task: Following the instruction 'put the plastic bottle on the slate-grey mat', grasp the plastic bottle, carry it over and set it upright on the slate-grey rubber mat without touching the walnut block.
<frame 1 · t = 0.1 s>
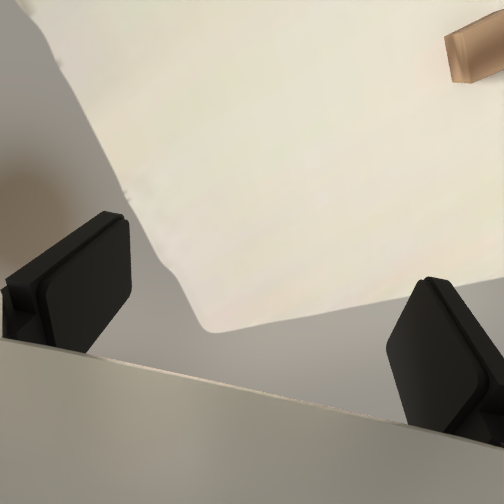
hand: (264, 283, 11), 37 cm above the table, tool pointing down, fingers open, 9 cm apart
walnut block: (472, 48, 37), on the table
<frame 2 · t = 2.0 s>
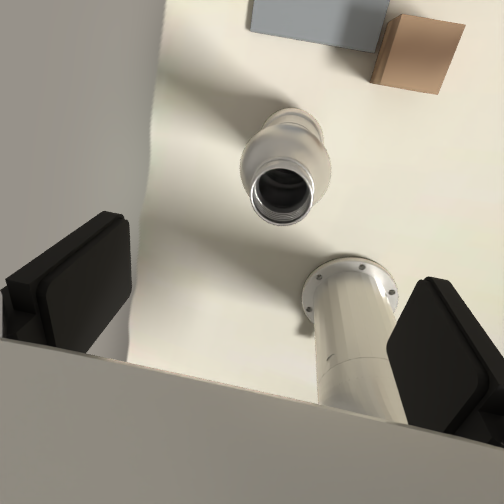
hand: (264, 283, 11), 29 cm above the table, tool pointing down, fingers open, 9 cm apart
walnut block: (404, 58, 31), on the table
plastic bottle: (291, 137, 36), on the table
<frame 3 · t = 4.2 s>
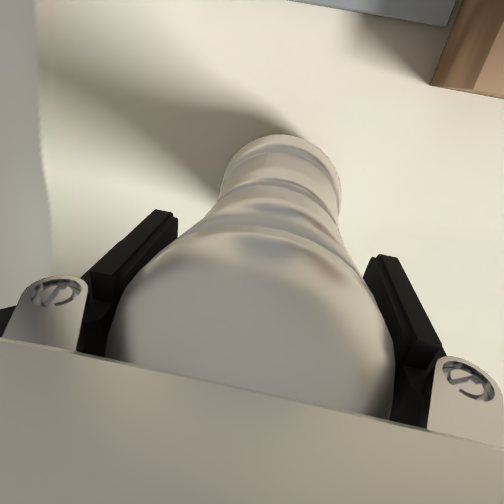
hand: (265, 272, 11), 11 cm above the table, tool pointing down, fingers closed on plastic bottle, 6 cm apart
walnut block: (503, 37, 16), on the table
plastic bottle: (282, 180, 21), on the table, touching gripper
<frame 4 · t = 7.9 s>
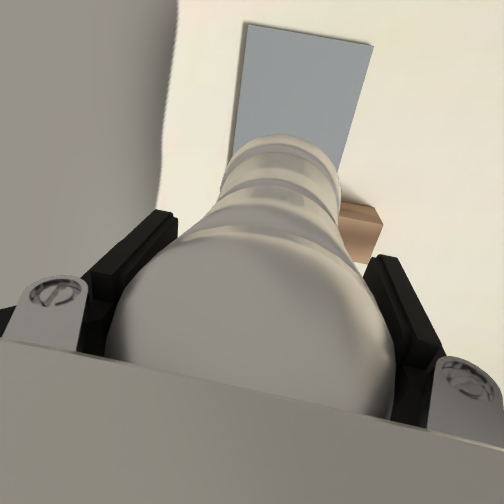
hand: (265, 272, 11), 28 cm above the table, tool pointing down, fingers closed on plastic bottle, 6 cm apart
slate mat: (290, 133, 35), on the table
walnut block: (347, 222, 40), on the table
plastic bottle: (282, 180, 20), point 17 cm above the table, touching gripper
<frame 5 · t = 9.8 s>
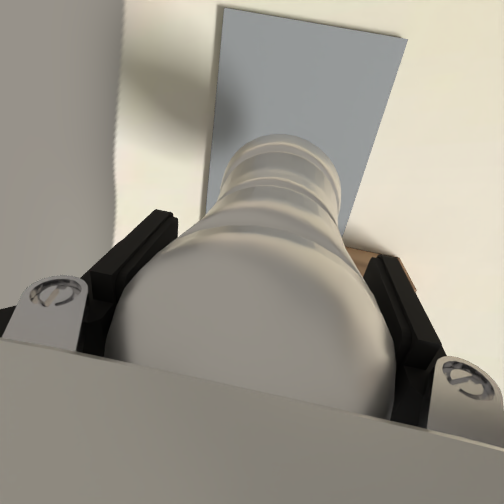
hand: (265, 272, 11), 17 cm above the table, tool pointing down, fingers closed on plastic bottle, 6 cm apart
slate mat: (286, 160, 26), on the table
walnut block: (362, 274, 30), on the table
plastic bottle: (282, 180, 20), point 6 cm above the table, touching gripper
when the fingers open (12 cm above the table, at t = 11.7 s): plastic bottle drops 1 cm, resting on slate mat.
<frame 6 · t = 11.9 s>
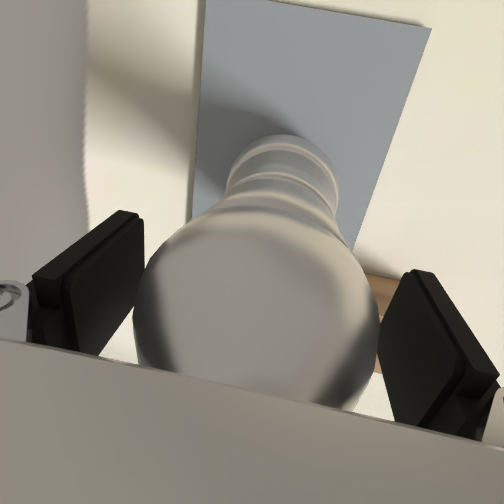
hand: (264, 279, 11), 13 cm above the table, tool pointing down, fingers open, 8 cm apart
slate mat: (283, 172, 22), on the table
walnut block: (370, 301, 26), on the table
plastic bottle: (284, 178, 22), resting on slate mat
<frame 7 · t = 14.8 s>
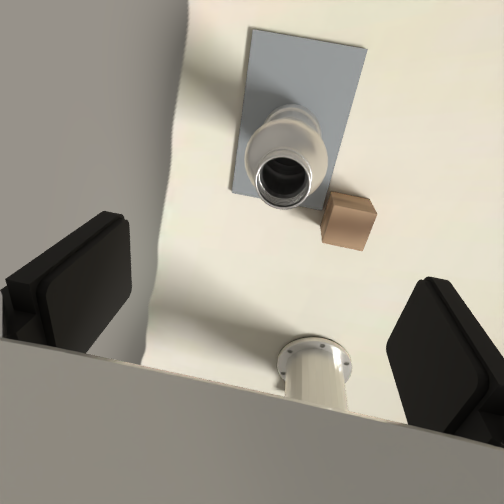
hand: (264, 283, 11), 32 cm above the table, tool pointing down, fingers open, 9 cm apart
slate mat: (291, 129, 38), on the table
walnut block: (344, 212, 43), on the table
plastic bottle: (291, 132, 38), resting on slate mat
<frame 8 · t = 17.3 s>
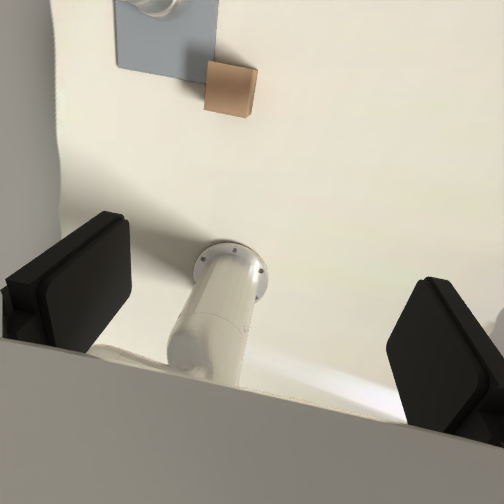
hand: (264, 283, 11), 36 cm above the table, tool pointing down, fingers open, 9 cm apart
walnut block: (235, 88, 41), on the table
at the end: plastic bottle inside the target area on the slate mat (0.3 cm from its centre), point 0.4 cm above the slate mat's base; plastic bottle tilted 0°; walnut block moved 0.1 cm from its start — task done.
